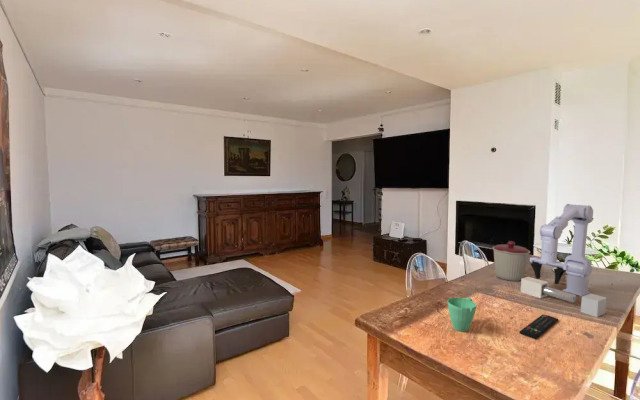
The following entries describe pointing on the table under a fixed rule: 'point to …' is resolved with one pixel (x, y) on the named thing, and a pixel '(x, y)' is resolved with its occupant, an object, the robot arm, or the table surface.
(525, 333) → the remote control
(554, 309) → the table surface
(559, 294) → the tube
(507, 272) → the canister
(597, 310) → the socket
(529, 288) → the sleeve
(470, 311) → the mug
